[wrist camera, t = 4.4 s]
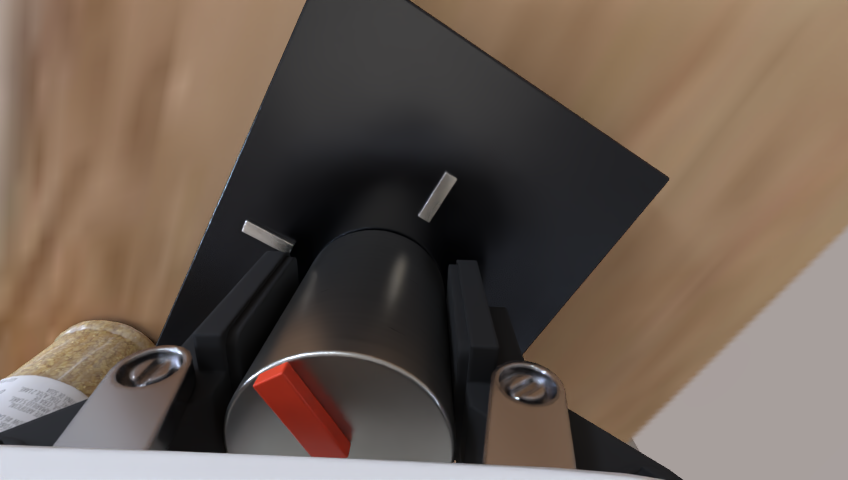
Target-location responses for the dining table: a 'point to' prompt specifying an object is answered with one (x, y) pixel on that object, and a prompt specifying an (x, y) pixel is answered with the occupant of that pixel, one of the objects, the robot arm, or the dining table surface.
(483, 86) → the panel
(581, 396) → the dining table surface
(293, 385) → the dial
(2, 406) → the sprinkles bottle
